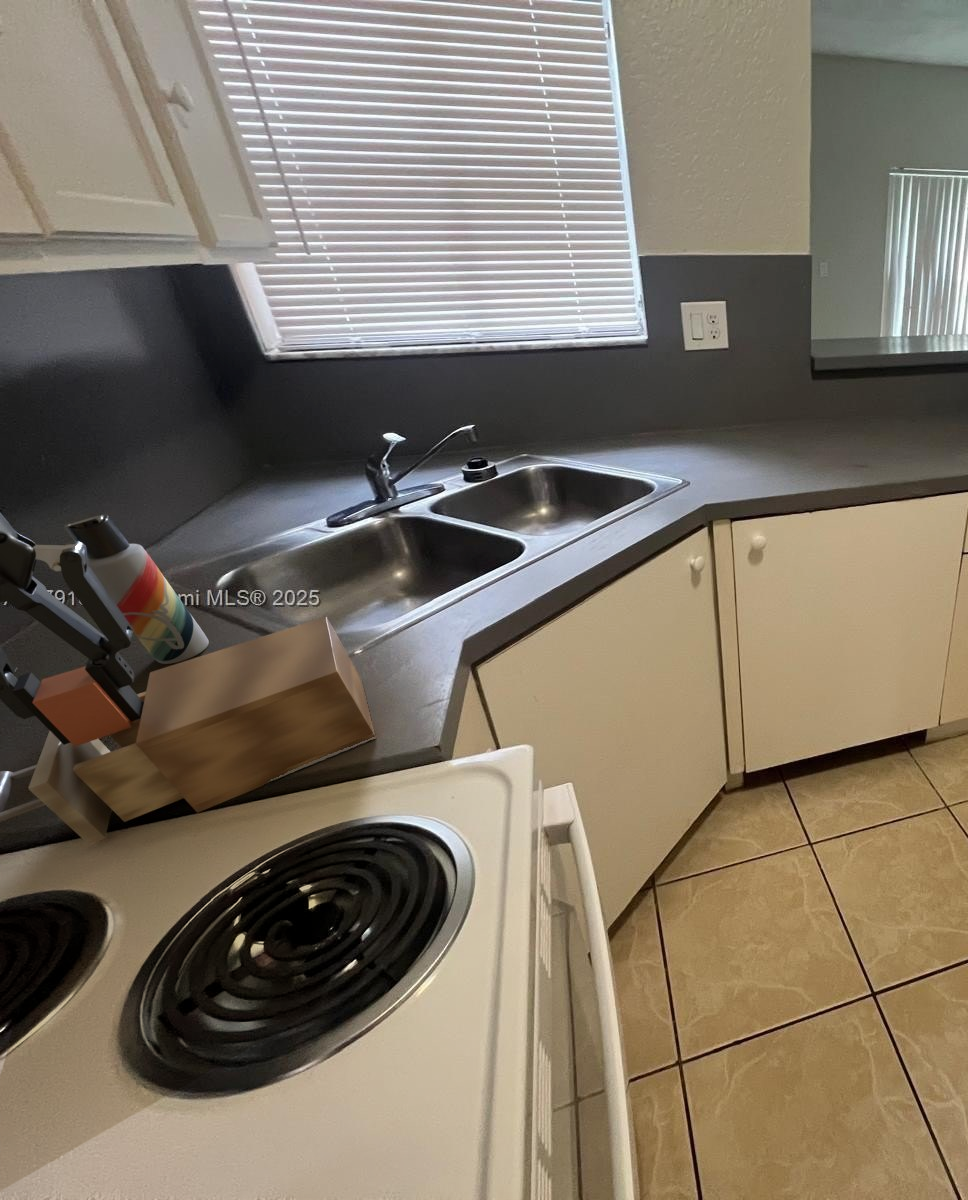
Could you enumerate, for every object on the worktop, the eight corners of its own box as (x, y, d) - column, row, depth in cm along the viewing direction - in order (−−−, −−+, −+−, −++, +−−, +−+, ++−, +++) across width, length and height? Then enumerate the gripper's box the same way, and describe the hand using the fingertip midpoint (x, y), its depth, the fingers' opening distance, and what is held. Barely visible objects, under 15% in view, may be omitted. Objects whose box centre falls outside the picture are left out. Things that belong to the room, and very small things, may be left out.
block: (74, 747, 57) (31, 702, 54) (82, 722, 60) (41, 679, 57) (132, 727, 59) (93, 683, 56) (137, 704, 62) (100, 661, 59)
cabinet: (197, 813, 62) (135, 743, 57) (202, 738, 71) (149, 672, 65) (376, 739, 70) (337, 671, 64) (362, 679, 78) (326, 615, 73)
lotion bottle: (166, 670, 81) (59, 533, 70) (149, 656, 84) (43, 522, 73) (217, 646, 85) (123, 513, 74) (200, 634, 88) (107, 504, 77)
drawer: (0, 881, 55) (-72, 824, 51) (30, 797, 63) (-30, 742, 59) (277, 768, 65) (236, 713, 61) (273, 707, 73) (237, 655, 69)
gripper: (-321, 552, 40) (-36, 793, 53) (46, 481, 48) (215, 705, 61) (-257, 513, 45) (-11, 742, 58) (65, 455, 53) (218, 666, 66)
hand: (105, 722), depth 60 cm, fingers closed on block, 4 cm apart
